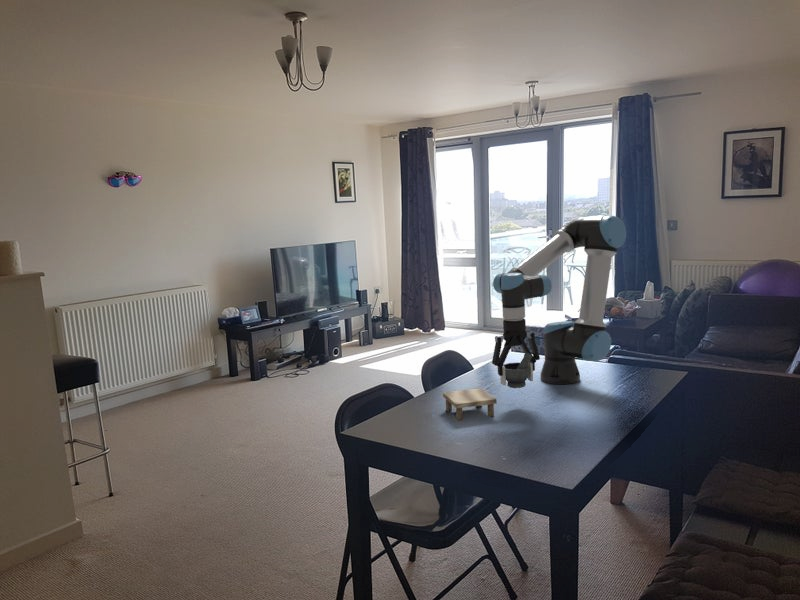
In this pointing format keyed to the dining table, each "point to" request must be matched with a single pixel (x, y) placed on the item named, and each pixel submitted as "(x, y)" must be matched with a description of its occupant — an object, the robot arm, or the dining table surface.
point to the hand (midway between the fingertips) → (517, 382)
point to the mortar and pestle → (518, 372)
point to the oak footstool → (469, 400)
